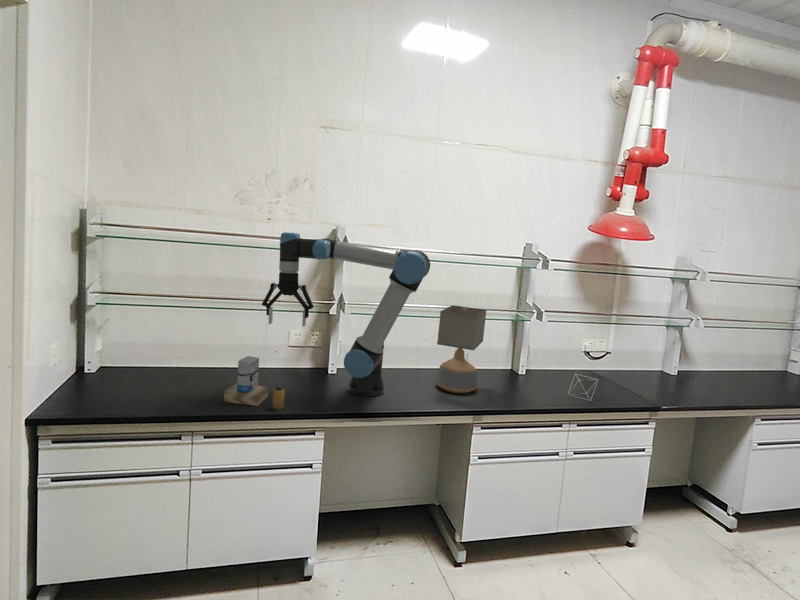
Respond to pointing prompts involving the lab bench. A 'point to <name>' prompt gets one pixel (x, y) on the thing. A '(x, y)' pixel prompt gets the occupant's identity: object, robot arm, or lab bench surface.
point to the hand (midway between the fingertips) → (287, 324)
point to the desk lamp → (460, 346)
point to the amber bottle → (278, 397)
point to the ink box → (247, 374)
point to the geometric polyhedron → (582, 386)
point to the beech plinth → (246, 395)
